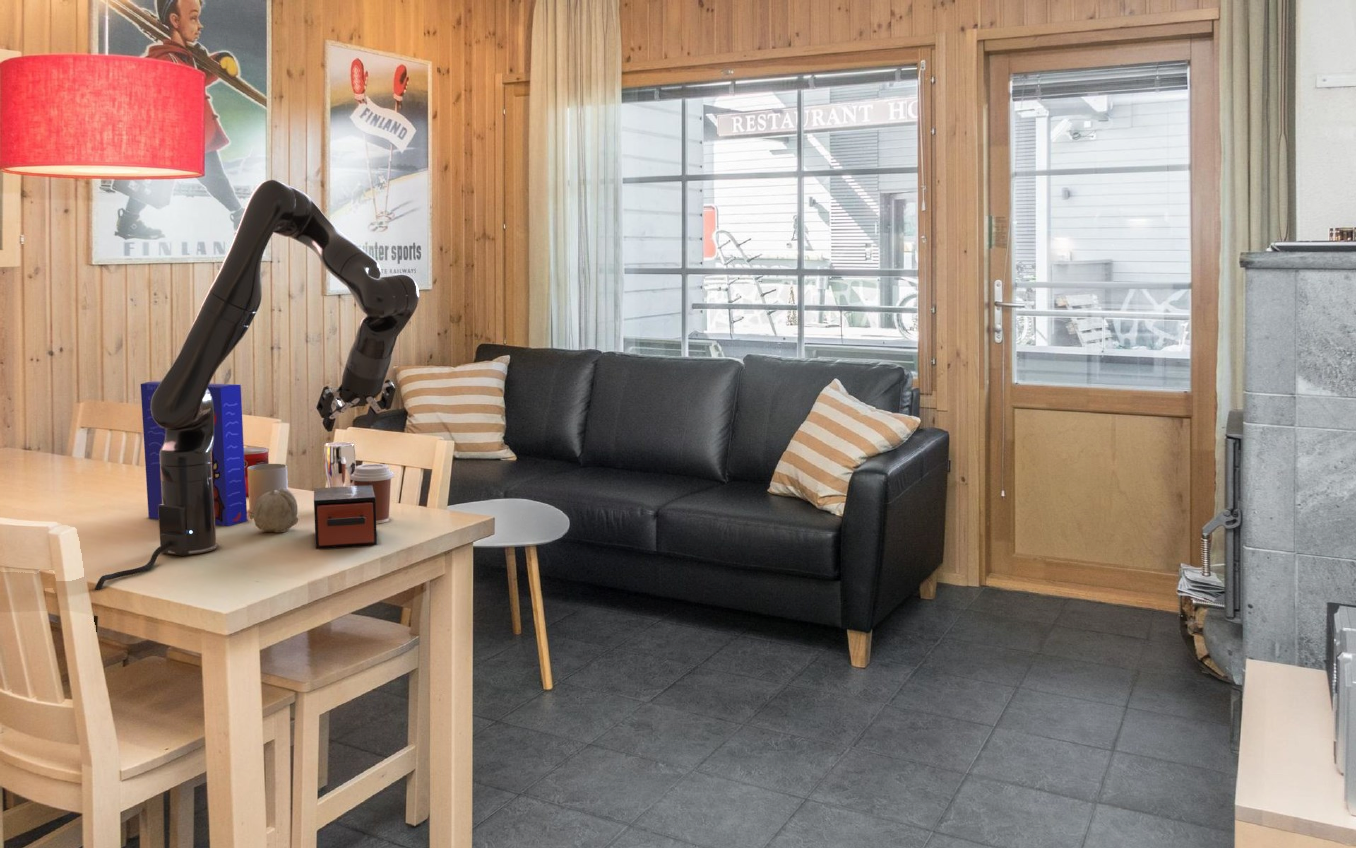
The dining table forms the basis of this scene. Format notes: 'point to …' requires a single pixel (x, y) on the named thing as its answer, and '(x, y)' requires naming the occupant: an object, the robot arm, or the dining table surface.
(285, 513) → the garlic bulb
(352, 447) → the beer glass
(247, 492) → the canned food
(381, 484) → the coffee cup
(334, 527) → the brown drawer box
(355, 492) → the box
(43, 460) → the dining table surface
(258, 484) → the cup
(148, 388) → the cereal box
